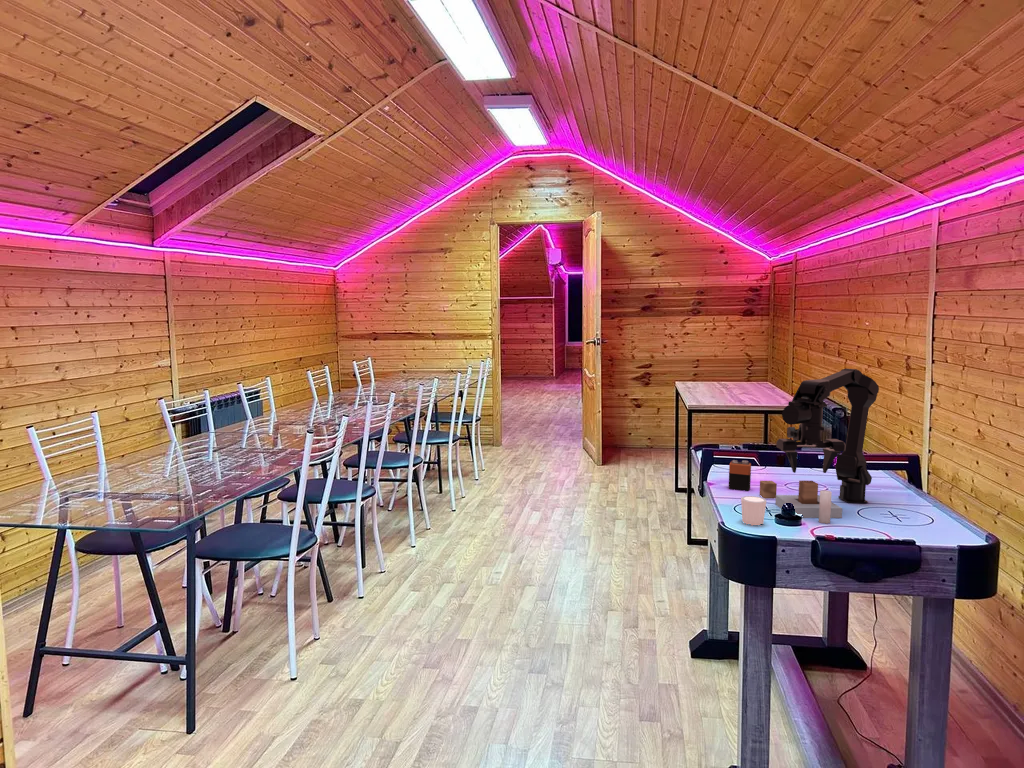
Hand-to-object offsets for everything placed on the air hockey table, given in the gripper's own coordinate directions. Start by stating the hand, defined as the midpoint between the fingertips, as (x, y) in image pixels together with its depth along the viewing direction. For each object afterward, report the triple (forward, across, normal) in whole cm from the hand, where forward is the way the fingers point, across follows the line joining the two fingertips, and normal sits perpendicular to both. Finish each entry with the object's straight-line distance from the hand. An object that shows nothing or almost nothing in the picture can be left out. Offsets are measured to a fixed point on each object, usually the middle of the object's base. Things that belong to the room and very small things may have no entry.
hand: (809, 472), depth 195 cm
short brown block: (+12, +6, -16) cm, 21 cm away
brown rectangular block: (+12, 0, 0) cm, 12 cm away
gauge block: (+12, 0, +3) cm, 12 cm away
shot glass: (+12, +21, +12) cm, 27 cm away
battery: (+12, +12, -26) cm, 31 cm away
